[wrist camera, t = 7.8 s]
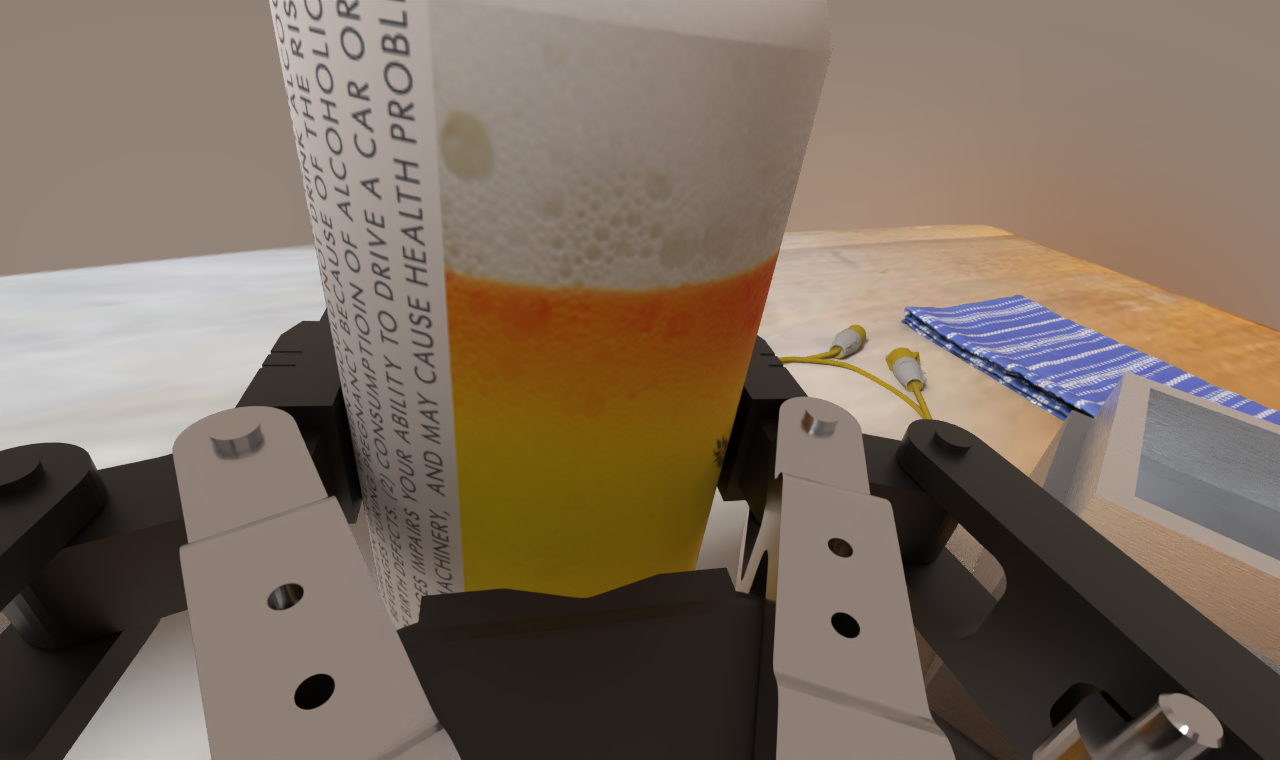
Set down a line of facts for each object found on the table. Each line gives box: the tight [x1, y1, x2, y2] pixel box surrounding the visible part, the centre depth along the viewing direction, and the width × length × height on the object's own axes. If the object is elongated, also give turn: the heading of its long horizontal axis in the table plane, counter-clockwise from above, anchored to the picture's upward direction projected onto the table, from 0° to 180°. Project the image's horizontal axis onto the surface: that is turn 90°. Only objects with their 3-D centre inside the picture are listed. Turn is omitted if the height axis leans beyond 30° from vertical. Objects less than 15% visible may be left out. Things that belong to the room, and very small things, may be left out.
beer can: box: [269, 0, 833, 630], centre depth 10 cm, size 6×6×15 cm
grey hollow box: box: [924, 371, 1280, 760], centre depth 17 cm, size 15×11×10 cm
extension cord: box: [779, 325, 932, 419], centre depth 38 cm, size 12×16×2 cm
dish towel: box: [901, 295, 1280, 425], centre depth 44 cm, size 17×24×3 cm
